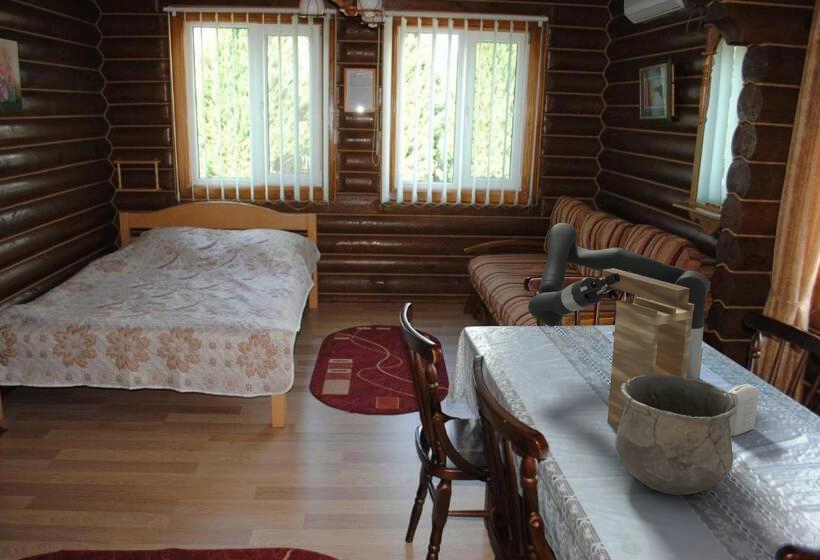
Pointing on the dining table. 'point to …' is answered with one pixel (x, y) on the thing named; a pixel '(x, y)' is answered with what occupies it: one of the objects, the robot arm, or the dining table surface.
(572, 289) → the robot arm
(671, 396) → the pot
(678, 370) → the rack
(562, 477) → the dining table surface
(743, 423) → the photo printer
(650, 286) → the block
